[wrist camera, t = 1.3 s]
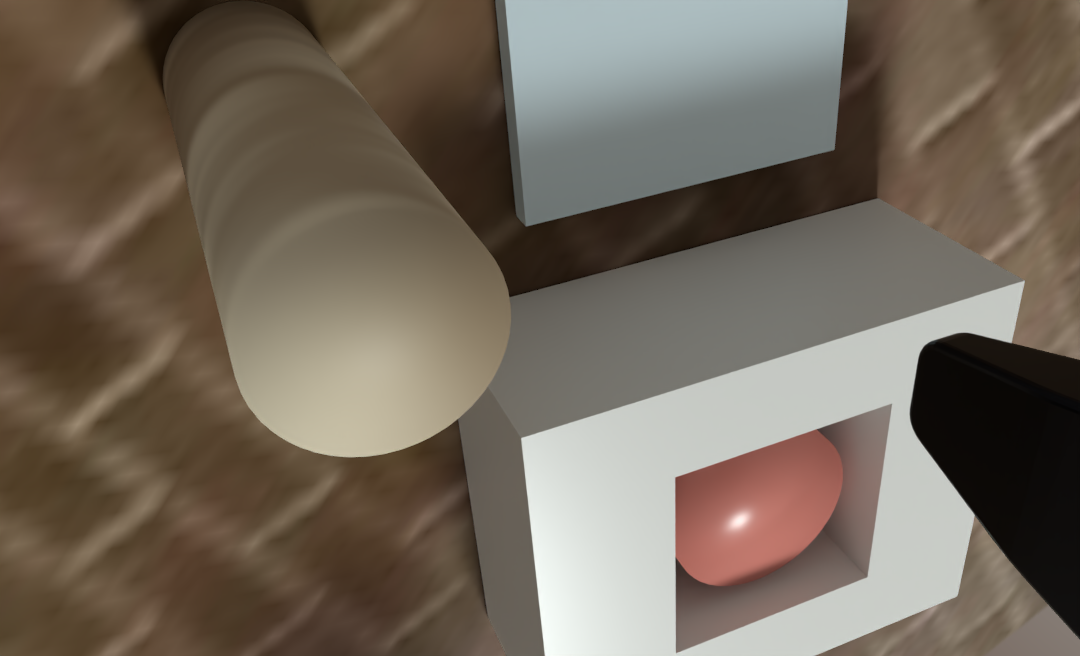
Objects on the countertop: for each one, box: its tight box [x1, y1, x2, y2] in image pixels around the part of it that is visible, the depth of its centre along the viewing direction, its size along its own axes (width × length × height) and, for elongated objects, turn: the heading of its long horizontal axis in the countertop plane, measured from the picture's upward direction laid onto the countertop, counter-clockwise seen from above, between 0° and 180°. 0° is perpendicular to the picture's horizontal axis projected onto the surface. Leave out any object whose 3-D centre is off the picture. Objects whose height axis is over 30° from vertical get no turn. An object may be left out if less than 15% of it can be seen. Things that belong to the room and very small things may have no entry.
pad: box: [495, 0, 848, 226], centre depth 21 cm, size 8×6×1 cm
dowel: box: [163, 1, 511, 457], centre depth 14 cm, size 3×3×10 cm
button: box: [675, 429, 843, 586], centre depth 24 cm, size 5×5×2 cm
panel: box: [458, 198, 1025, 656], centre depth 25 cm, size 12×10×5 cm
